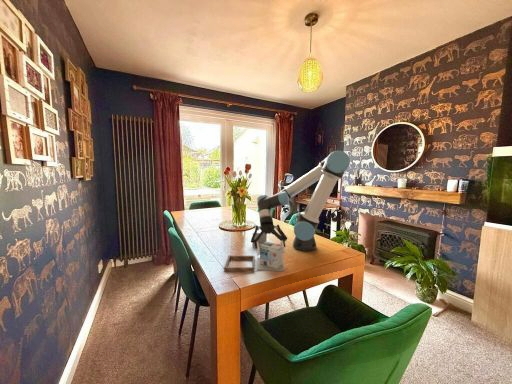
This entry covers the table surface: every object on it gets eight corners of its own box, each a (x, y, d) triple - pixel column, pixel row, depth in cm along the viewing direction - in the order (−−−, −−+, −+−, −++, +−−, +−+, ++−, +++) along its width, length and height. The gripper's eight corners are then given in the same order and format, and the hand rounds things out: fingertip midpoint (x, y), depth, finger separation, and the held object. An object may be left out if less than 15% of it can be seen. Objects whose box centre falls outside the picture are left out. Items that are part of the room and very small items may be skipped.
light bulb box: (259, 263, 115) (259, 244, 113) (265, 259, 120) (265, 241, 119) (277, 269, 109) (277, 249, 108) (282, 264, 115) (283, 244, 114)
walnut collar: (254, 259, 122) (254, 255, 122) (254, 271, 107) (254, 268, 107) (228, 258, 122) (228, 255, 122) (224, 271, 108) (224, 267, 107)
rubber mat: (281, 259, 122) (281, 258, 122) (284, 271, 109) (284, 269, 108) (257, 258, 123) (257, 257, 123) (257, 270, 109) (257, 269, 109)
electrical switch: (252, 247, 139) (252, 233, 139) (252, 245, 144) (253, 231, 144) (266, 248, 138) (266, 234, 138) (266, 246, 144) (266, 232, 143)
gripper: (285, 221, 130) (292, 254, 117) (244, 222, 126) (247, 257, 113) (287, 214, 124) (295, 249, 111) (245, 215, 120) (248, 252, 108)
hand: (271, 253), depth 112 cm, fingers open, 13 cm apart
